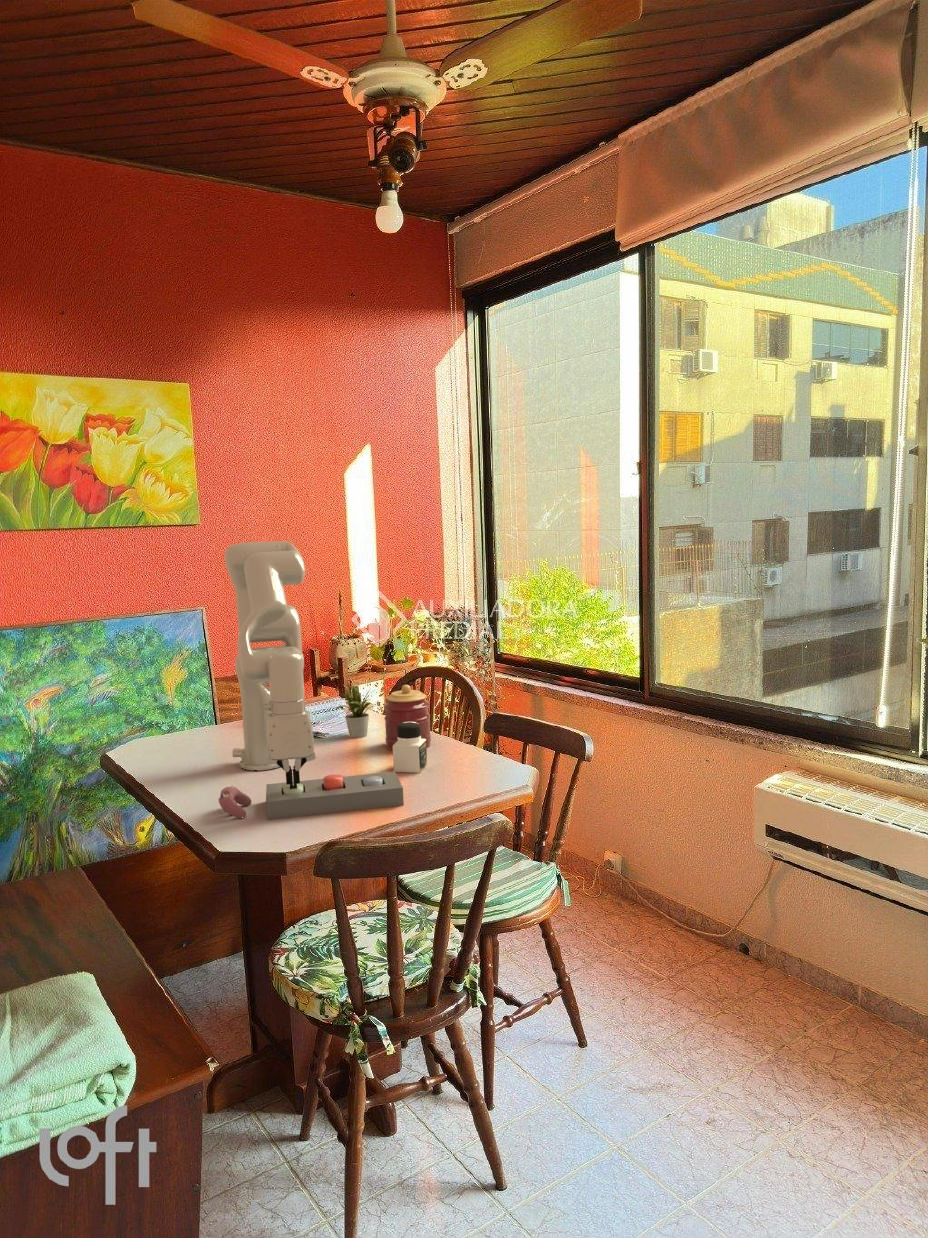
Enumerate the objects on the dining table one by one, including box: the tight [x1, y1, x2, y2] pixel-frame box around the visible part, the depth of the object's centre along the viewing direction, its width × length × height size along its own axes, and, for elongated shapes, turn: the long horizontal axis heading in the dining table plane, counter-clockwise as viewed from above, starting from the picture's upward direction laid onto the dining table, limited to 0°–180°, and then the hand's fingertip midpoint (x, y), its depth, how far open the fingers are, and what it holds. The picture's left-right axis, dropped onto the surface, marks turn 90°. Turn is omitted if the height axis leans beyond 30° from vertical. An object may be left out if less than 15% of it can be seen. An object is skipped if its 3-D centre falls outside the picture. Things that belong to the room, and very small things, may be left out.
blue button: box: [363, 776, 383, 786], centre depth 196 cm, size 4×4×3 cm
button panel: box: [265, 771, 405, 820], centre depth 194 cm, size 30×13×4 cm, turn 102°
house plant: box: [332, 684, 377, 739], centre depth 255 cm, size 14×14×16 cm
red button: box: [322, 774, 344, 790], centre depth 193 cm, size 4×4×3 cm
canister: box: [383, 684, 432, 751], centre depth 241 cm, size 13×13×18 cm
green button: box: [283, 784, 304, 794], centre depth 192 cm, size 4×4×3 cm
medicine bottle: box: [392, 722, 428, 774], centre depth 218 cm, size 7×7×12 cm
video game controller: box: [218, 785, 252, 819], centre depth 190 cm, size 10×5×7 cm, turn 6°
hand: (293, 786), depth 191 cm, fingers closed
